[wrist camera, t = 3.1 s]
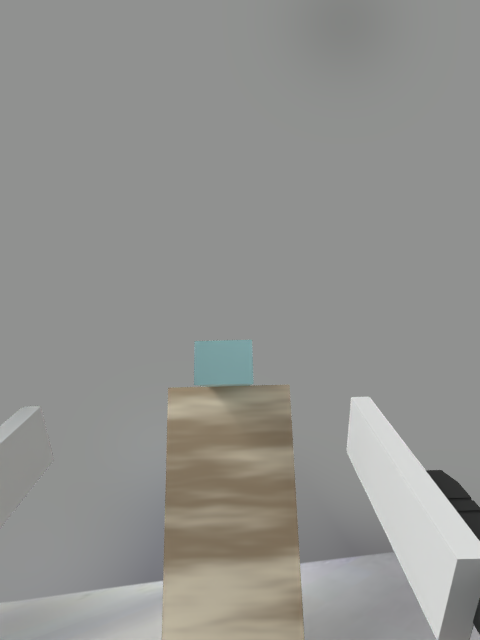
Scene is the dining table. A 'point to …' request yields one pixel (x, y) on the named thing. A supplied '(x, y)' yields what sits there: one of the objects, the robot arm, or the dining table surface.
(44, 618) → the dining table surface
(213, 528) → the wooden stand
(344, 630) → the dining table surface
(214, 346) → the teal block
